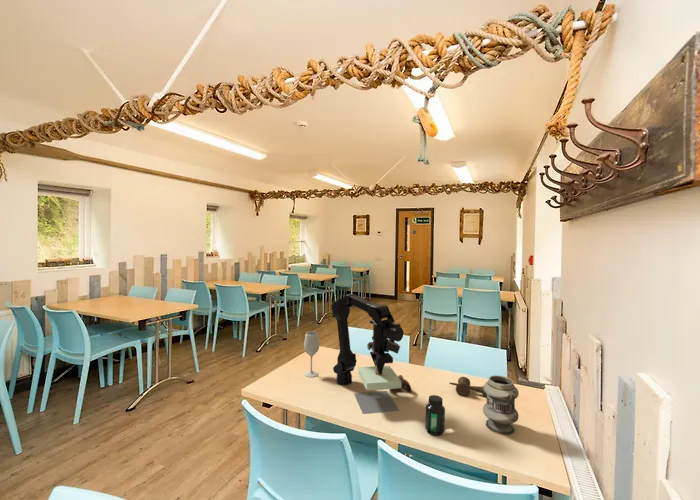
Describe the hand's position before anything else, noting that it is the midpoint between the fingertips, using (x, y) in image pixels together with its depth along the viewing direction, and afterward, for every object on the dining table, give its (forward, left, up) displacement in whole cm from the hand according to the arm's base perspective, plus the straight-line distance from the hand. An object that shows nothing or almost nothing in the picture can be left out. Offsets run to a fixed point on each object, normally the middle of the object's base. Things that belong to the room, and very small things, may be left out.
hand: (379, 372), depth 139 cm
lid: (0, 0, -4) cm, 4 cm away
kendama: (+44, +1, -13) cm, 46 cm away
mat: (-1, -1, -13) cm, 13 cm away
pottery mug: (+13, +7, -13) cm, 20 cm away
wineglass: (-25, +33, -13) cm, 44 cm away
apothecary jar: (+40, -25, -13) cm, 49 cm away
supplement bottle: (+15, -23, -13) cm, 30 cm away
